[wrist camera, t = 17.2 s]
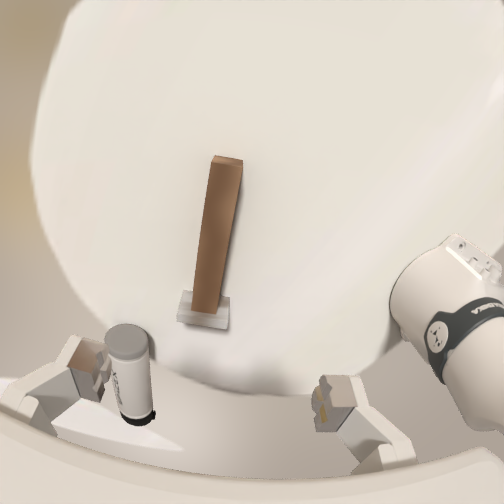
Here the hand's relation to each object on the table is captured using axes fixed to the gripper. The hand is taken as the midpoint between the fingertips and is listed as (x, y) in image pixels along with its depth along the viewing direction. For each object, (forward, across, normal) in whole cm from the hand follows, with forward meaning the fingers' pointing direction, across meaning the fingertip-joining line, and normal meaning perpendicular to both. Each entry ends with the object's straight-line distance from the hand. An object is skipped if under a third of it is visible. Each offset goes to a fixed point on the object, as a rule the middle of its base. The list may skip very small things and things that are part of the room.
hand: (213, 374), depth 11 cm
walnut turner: (+25, +2, +6) cm, 26 cm away
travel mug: (+22, +12, +21) cm, 33 cm away
